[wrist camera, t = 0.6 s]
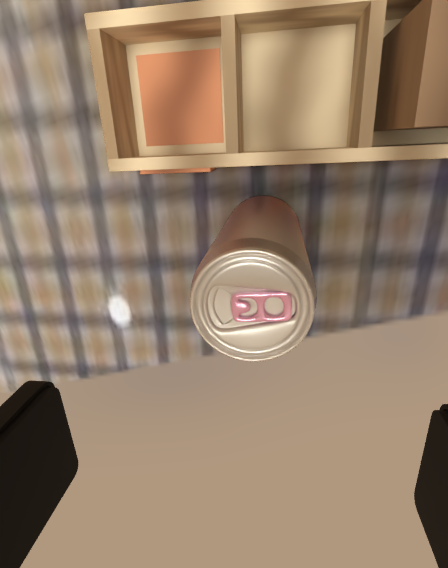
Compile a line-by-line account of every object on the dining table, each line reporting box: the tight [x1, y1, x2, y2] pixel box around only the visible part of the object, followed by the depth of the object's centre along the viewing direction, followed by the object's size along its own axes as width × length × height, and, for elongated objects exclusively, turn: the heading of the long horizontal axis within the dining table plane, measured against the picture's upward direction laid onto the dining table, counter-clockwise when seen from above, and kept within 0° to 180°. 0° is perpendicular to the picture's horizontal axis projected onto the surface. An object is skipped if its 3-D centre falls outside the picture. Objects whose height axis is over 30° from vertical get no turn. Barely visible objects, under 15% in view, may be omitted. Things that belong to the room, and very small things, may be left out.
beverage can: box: [190, 196, 317, 362], centre depth 22 cm, size 6×6×15 cm
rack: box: [84, 0, 448, 174], centre depth 23 cm, size 25×9×5 cm, turn 92°
